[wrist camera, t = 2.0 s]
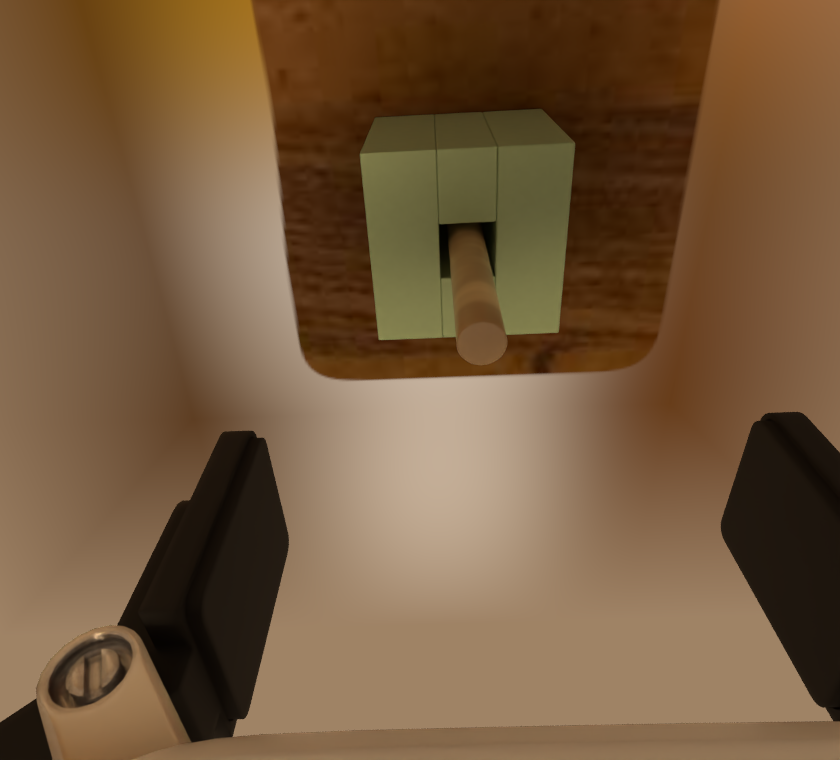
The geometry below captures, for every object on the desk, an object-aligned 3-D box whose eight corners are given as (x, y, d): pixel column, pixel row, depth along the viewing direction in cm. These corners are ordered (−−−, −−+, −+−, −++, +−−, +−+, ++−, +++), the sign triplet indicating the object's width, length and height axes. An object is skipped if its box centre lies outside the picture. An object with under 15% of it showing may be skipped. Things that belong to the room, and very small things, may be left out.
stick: (474, 181, 31) (508, 320, 18) (474, 210, 32) (506, 365, 19) (444, 182, 31) (456, 322, 18) (444, 212, 32) (456, 366, 19)
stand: (542, 108, 29) (575, 142, 23) (533, 266, 34) (558, 333, 27) (374, 117, 30) (359, 153, 23) (388, 272, 34) (378, 340, 28)
